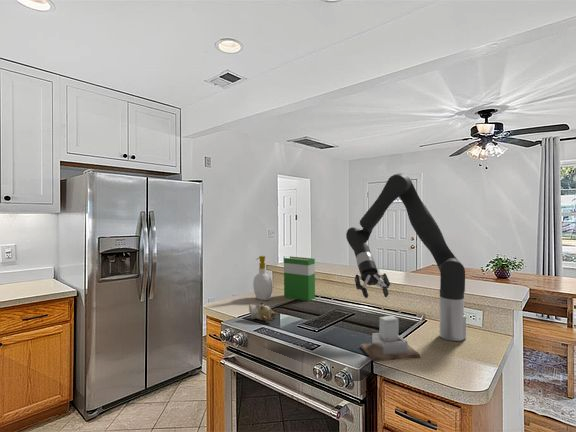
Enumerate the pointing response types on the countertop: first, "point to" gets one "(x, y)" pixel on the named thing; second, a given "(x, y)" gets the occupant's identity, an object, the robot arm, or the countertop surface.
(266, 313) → the ceramic sculpture
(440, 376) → the countertop surface
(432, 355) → the countertop surface
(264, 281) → the soap bottle
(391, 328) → the skincare box
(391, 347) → the steel slot collar
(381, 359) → the walnut board
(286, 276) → the green cereal box
